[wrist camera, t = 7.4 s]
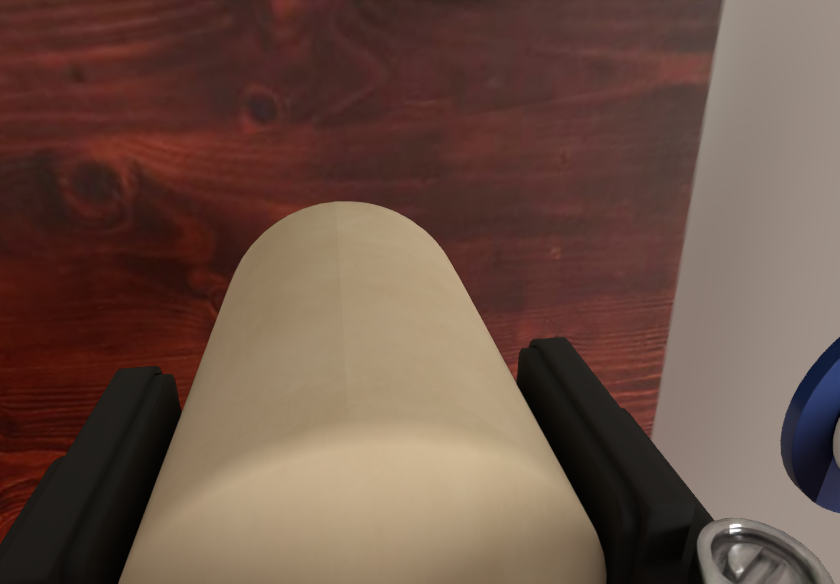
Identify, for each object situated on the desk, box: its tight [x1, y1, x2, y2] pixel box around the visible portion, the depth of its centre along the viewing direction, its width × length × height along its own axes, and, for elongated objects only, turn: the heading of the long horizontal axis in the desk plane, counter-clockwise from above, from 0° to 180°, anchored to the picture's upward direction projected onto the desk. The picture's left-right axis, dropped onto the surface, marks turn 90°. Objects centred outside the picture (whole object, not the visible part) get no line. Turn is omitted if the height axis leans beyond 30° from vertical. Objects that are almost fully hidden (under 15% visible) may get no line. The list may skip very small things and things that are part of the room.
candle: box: [118, 201, 607, 584], centre depth 10 cm, size 6×6×10 cm
